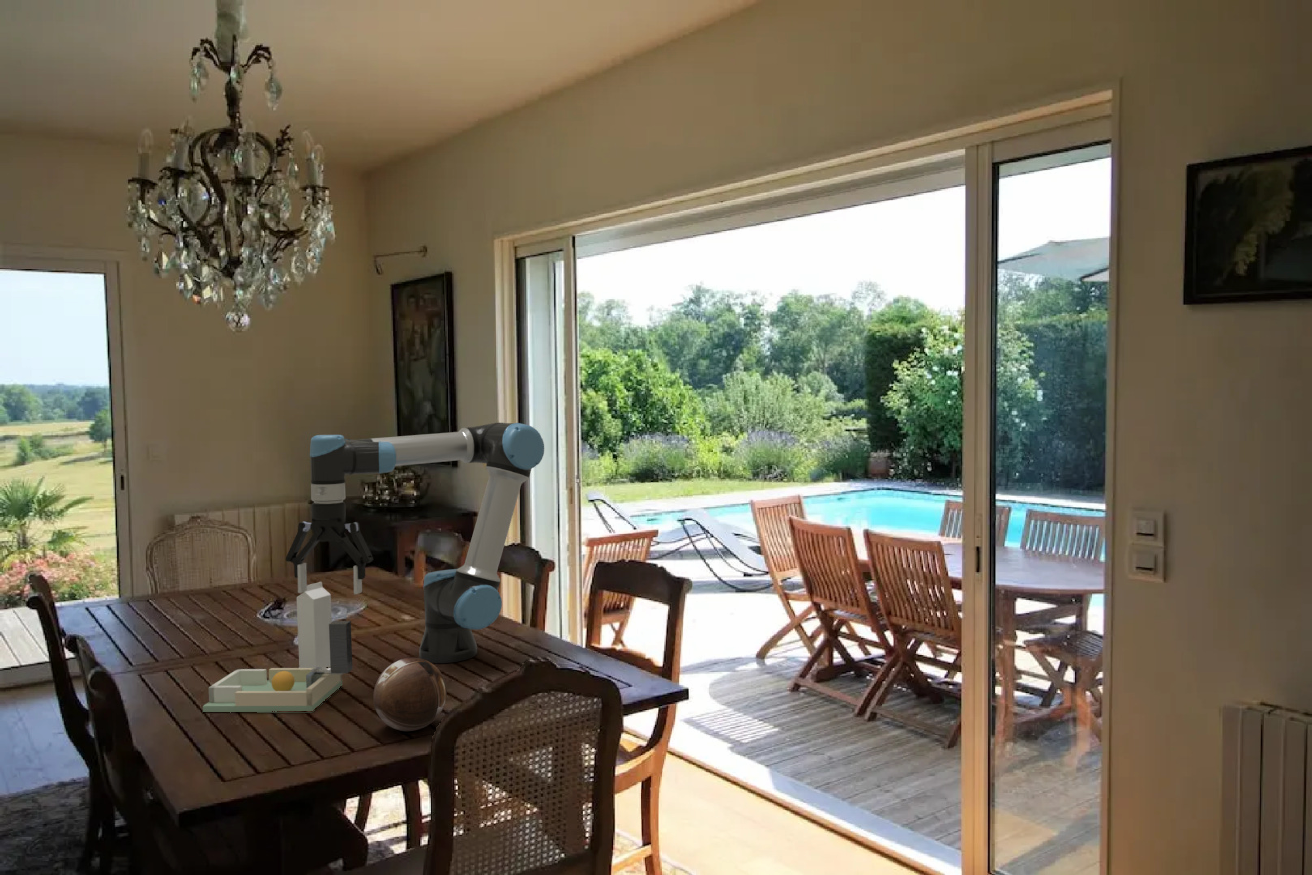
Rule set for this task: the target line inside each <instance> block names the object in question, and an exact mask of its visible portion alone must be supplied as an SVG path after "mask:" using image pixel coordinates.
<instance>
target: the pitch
mask: <svg viewBox="0 0 1312 875" xmlns="http://www.w3.org/2000/svg"><path fill="white" fill-rule="evenodd" d="M311 669H313V668H299V667H270V668H269V669H268V670H267V668H264V669H263V668H249V669H248V668H244V669H243V668H238V669H235V670H233V672H231V673H229V674H227V675H226V676H224V677H223V678H221V679H220V680H218V681H216V682H215V683H213V684H212V685H210V686H209V687H208V702H207V703H204V705H203V706H202V713H203V712H230V714H231V712H257V713H278V712H277V711H313V710H314V709H315V708H316V707H317V706H319V705H320V704H321V703H322V702H323V701H325V699H326V698H328V697H329V696H330V695H331V694H332V693H334V692H335V691H336V690H337V689H338V690H340V689H341V688H340V686H342V687H343V674H322V677H321V678H319V679H318V680H317V681H316V682H314V683H313V684H312V685H311V686H309V687H308V688H306V675H307V674H309V673H310V672H311ZM267 671H268V672H267ZM281 671H287V672H290V673H291V674H292V675H293V677H294V680H295V682H294V686H293V687H292V689H291V690H290V691H275V690H274V689H273V687H272V679H273V677H274V676H275V674H277V673H278V672H281ZM339 688H340V689H339ZM338 690H337V691H338ZM337 691H336V692H337ZM336 692H335V693H336ZM335 693H334V694H335ZM330 697H331V696H330ZM330 697H329V698H330ZM329 698H328V699H329ZM325 702H326V701H325ZM322 704H323V703H322ZM322 704H321V705H322ZM321 705H320V706H321ZM320 706H319V707H320ZM272 711H273V712H272ZM274 711H275V712H274ZM314 711H315V710H314ZM314 711H313V712H314Z"/></svg>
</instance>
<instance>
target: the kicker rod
mask: <svg viewBox="0 0 1312 875" xmlns="http://www.w3.org/2000/svg"><path fill="white" fill-rule="evenodd" d="M329 640H330V666H331V667H328V668H321V667H316V668H313V669H311V672H310V673H309V674H307V675H306V688H308V687H309V686H311V685H312V684H313V683H314V682H316V681H317V680H318V679H319V678H321V677H322V674H342V675H343V674H348V673H350V672H351V671H352V670H353V645H352V620H332V623H330V624H329Z"/></svg>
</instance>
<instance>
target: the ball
mask: <svg viewBox="0 0 1312 875" xmlns="http://www.w3.org/2000/svg"><path fill="white" fill-rule="evenodd" d="M294 682H295V680H294V677H293V675H292V674H291V673H290V672H287V671H281V672H278V673H277V674H275V676H274V677H273V679H272V687H273V689H274V690H275V691H290V690H291V689H292V687H293V686H294Z"/></svg>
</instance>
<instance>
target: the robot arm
mask: <svg viewBox="0 0 1312 875" xmlns="http://www.w3.org/2000/svg"><path fill="white" fill-rule="evenodd" d="M309 448H310V450H309V458H310V460H309V461H310V465H309V466H310V500H311V501H312V503H311V505H310V506H311V507H310V510H311V512H310V513H311V514H310V515H311V516H310V517H311V522H308V521H307V520H305V521H301V522H298V527H297V528H298V529H297V532H296V534H295V537H294V540H293V542H292V544H291V546H290V548H289V550H288V552H287V554H286V557H285V561H286V562H290V563H293V569H294V571H293V572H294V573H293V576H294V578H295V579H296V578H297V593H298V594H302V593H304V591H307V585H308V584H307V580H308V578H307V577H308V576H307V562H304V561H305V559H306V558H307V557H308V556H309V555H310V553H311V552H312V551H313V550H314V548H315V547H316V546H317V545H318V543H319V542H321V543H325V542H328V543H335V542H337V543H338V544H339V545H340V546H341V547H342V548H343V549H344V550H345V552H346V553H347V554H348V556H349V557H350V559H352V560H353V562H354V563H355V564H356V565H353V595H359V594H360V593H363V580H364V579H366V578H365V577H366V564H369V563H372V562H373V561H374V557H373V554H372V552H371V550H370V549H369V546H368V545H367V542H366V540H365V539H364V536H363V535H362V532H361V529H360V523H359V521H355V522H350V523H347V521H346V516H347V515H346V511H347V510H346V506H347V504H346V503H345V501H344V500H346V499H347V498H346V475H347V476H351V475H368V474H369V475H372V474H380V475H382V474H384V473H386V474H387V473H391V472H393V471H394V470H395V467H398V466H407V465H408V466H409V465H419V464H431V463H442V462H453V461H461V462H462V463H464V464H471V463H477V464H479V463H480V464H486V465H485V470H486V471H487V473H488V480H487V483H486V486H485V490H484V492H483V493H484V494H483V496H482V500H481V504H480V507H479V508H480V509H479V510H478V511H479V512H478V514H477V519H476V523H475V525H474V529H473V533H472V537H471V540H470V543H469V547H468V550H467V554H466V557H465V562H464V564H463V565H461V566H460V567H458V568H454V569H453V568H452V569H444V570H437V571H436V570H435V571H432V572H431V571H430V572H429V573H426V574H425V575H424V578H423V585H422V588H423V601H424V603H423V604H424V621H425V622H424V623H425V624H424V628H425V629H424V633H423V636H422V639H421V642H420V646H419V650H418V652H419V658H420V659H424V660H426V661H429V662H430V663H432V664H450V663H457V662H463V661H468V660H469V659H472V658H474V657H475V656H476V655H478V645H477V642H476V639H475V636H474V634H473V630H477V631H478V630H483V629H485V628H487V627H489V626H490V625H492V624H493V623H494V622H495V621H496V620H497V618H498V617H499V616H500V613H501V610H502V606H503V600H502V597H501V595H500V592H499V587H500V584H501V579H500V576H499V574H498V569H499V565H500V561H501V558H502V555H503V551H504V549H505V548H504V547H505V545H506V544H505V543H506V542H507V541H506V540H507V537H508V534H509V530H510V529H509V528H510V526H511V522H512V518H513V515H514V512H515V508H516V503H517V500H518V496H519V494H520V490H521V486H522V485H523V484H524V483H525V482H526V481H528V480H529V479H530V475H531V472H532V469H533V468H536V467H537V466H538V465H540V463H541V461H542V460H543V458H544V454H545V442H544V439H543V438H542V436H541V433H540V432H539V430H537V429H536V428H535V427H534V426H531V425H529V424H524V423H520V422H515V423H512V422H511V423H509V422H507V423H506V422H493V423H488V424H483V425H477V426H470V427H469V426H468V427H462V428H460V429H459V431H453V432H452V431H451V432H440V433H427V434H426V433H425V434H415V435H414V434H412V435H401V436H399V435H398V436H388V437H387V436H386V437H384V436H383V437H374V438H373V437H371V438H361V439H359V438H358V439H349V438H345V436H344V435H342V434H317V435H314V436H312V437H311V439H310V445H309ZM310 530H311V531H312V533H313V534H312V535H311V537H310V538H309V540H308V541H307V543H306V544H305V545H304V547H303V548H302V545H303V543H304V541H305V539H306V536H307V534H308V532H309V531H310ZM347 530H348V532H349V533H350V536H351V538H352V540H353V542H354V543H352V541H350V539H349V536H348V535H347V534H346V532H347ZM354 544H355V545H354ZM301 548H302V549H301ZM300 549H301V551H300Z"/></svg>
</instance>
